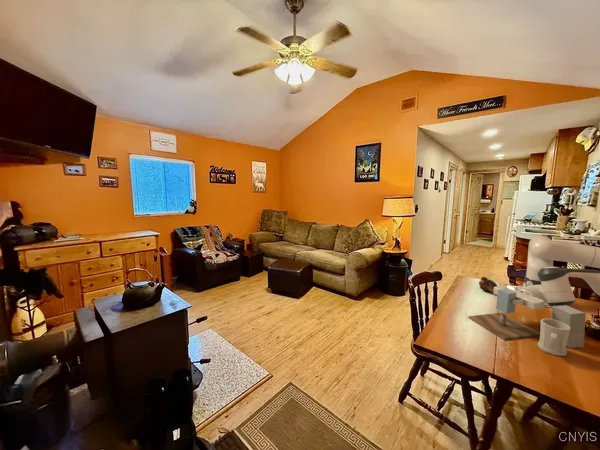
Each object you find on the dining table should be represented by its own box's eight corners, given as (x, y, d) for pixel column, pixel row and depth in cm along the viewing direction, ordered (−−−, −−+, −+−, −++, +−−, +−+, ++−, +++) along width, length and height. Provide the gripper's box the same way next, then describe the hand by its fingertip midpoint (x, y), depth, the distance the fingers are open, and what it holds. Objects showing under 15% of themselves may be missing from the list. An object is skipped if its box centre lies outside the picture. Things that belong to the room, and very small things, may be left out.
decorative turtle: (487, 286, 173) (489, 275, 172) (502, 297, 159) (504, 285, 157) (472, 285, 174) (474, 274, 173) (486, 296, 160) (488, 284, 158)
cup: (576, 360, 100) (580, 333, 98) (549, 358, 101) (553, 330, 100) (555, 344, 110) (559, 319, 108) (531, 342, 112) (534, 317, 110)
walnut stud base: (500, 314, 136) (502, 302, 135) (540, 335, 116) (542, 322, 115) (468, 317, 133) (469, 306, 132) (503, 340, 113) (505, 326, 112)
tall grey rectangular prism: (503, 307, 126) (505, 288, 124) (514, 312, 121) (516, 292, 119) (496, 308, 125) (498, 289, 123) (506, 313, 120) (508, 293, 118)
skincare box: (583, 348, 107) (589, 313, 105) (566, 348, 107) (571, 313, 105) (563, 336, 115) (568, 304, 113) (547, 336, 115) (552, 304, 113)
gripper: (550, 311, 115) (528, 315, 112) (505, 293, 135) (484, 296, 132) (552, 298, 114) (529, 302, 111) (506, 282, 134) (485, 285, 131)
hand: (505, 299), depth 122 cm, fingers closed on tall grey rectangular prism, 5 cm apart
